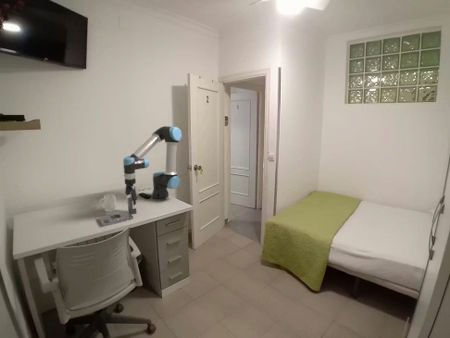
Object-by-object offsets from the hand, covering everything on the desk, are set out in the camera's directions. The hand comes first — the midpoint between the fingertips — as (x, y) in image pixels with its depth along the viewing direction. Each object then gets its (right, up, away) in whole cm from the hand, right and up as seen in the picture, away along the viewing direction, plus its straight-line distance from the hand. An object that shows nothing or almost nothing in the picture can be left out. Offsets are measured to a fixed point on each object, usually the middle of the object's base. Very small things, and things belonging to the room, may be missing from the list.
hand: (131, 205), depth 175 cm
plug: (0, -6, +2) cm, 6 cm away
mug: (-21, -5, +7) cm, 22 cm away
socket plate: (-8, -8, -9) cm, 15 cm away
